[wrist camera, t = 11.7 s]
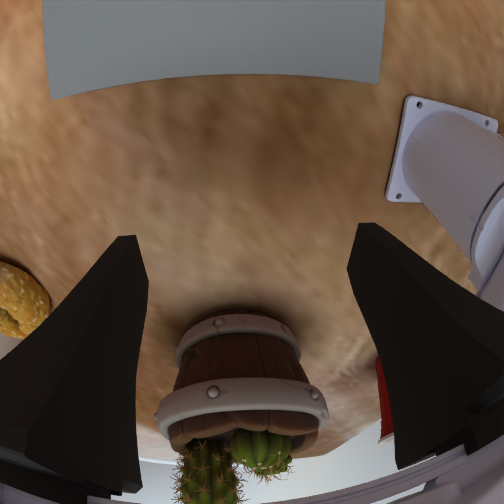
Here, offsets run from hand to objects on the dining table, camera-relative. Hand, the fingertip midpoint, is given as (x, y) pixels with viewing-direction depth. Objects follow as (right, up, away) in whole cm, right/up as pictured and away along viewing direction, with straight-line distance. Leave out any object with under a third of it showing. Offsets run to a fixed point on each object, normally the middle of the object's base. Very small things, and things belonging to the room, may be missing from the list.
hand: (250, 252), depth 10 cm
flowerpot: (-2, -9, +21) cm, 23 cm away
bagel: (-24, -4, +15) cm, 29 cm away
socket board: (-2, +17, 0) cm, 17 cm away
